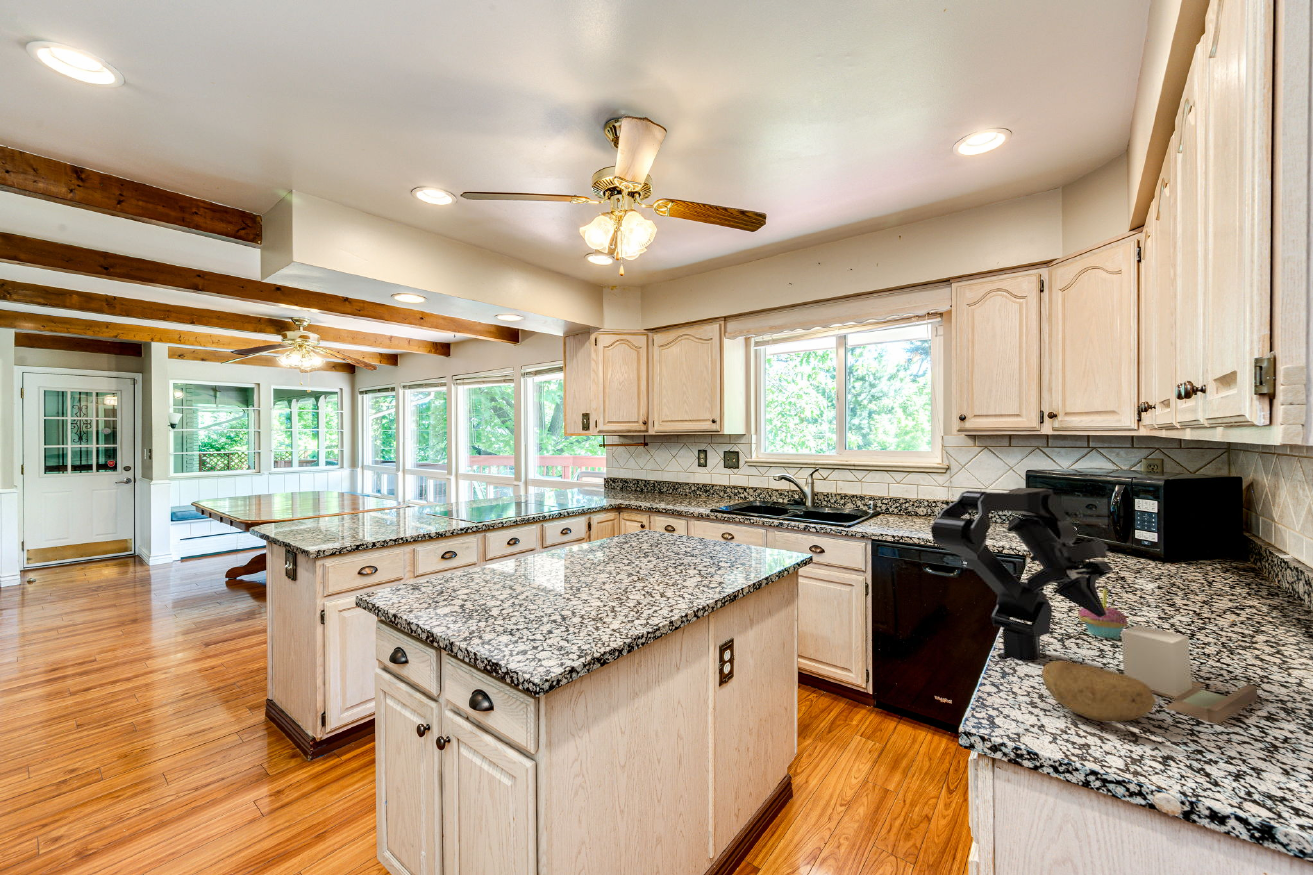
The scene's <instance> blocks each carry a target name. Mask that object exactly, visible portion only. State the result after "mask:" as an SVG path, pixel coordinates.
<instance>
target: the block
mask: <svg viewBox="0 0 1313 875" xmlns="http://www.w3.org/2000/svg"><path fill="white" fill-rule="evenodd" d="M1120 636H1121V647H1122V648H1121V650H1122V663H1123V674H1124V675H1128V676H1130V677H1132V678H1134V679H1137V680H1139V681H1141V682H1143V683H1145V684H1146V685H1147V686H1148V687H1149V688H1150V689H1151V690H1154V691H1158V692H1161V693H1164V694H1168V695H1171V696H1174V697H1177V696H1179V695H1181V694H1183V693H1185V692H1187V691H1188V690H1190V689H1192V682H1191V680H1192V671H1191V670H1192V668H1191V657H1190V642H1189V636H1188V635H1184V634H1179V633H1174V632H1170V631H1165V630H1161V629H1156V628H1151V627H1148V626H1142V625H1138V624H1137V625H1134V626H1131V627H1129V628H1126V629H1124V630H1122V631H1121V634H1120Z"/></svg>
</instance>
